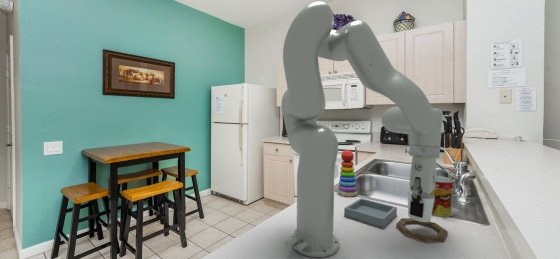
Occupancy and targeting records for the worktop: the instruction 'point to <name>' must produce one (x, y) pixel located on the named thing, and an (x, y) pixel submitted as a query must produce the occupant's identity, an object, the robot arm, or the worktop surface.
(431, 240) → the coaster ring
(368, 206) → the tray
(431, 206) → the white cylinder
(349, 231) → the worktop surface
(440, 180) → the canned food
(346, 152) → the stacking toy
